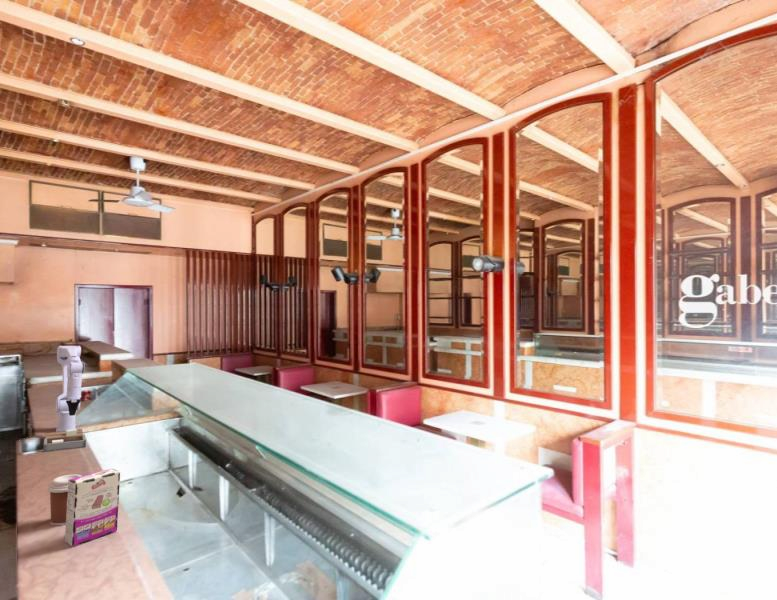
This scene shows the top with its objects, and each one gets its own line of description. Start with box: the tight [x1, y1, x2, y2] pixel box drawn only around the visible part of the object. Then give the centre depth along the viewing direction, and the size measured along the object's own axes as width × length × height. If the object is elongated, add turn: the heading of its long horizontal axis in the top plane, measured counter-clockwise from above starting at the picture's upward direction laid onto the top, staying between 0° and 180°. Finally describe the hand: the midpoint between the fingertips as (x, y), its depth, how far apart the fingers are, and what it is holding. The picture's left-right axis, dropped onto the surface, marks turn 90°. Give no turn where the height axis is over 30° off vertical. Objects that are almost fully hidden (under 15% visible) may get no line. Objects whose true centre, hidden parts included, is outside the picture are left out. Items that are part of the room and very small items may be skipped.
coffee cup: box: [46, 473, 82, 527], centre depth 128 cm, size 9×9×12 cm
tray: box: [43, 433, 87, 453], centre depth 198 cm, size 12×15×3 cm
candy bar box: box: [64, 468, 121, 548], centre depth 119 cm, size 11×5×16 cm, turn 148°
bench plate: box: [45, 428, 84, 444], centre depth 209 cm, size 14×14×2 cm
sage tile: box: [66, 428, 78, 436], centre depth 208 cm, size 4×4×2 cm
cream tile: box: [52, 439, 63, 443], centre depth 197 cm, size 4×4×2 cm
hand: (72, 415), depth 214 cm, fingers closed
